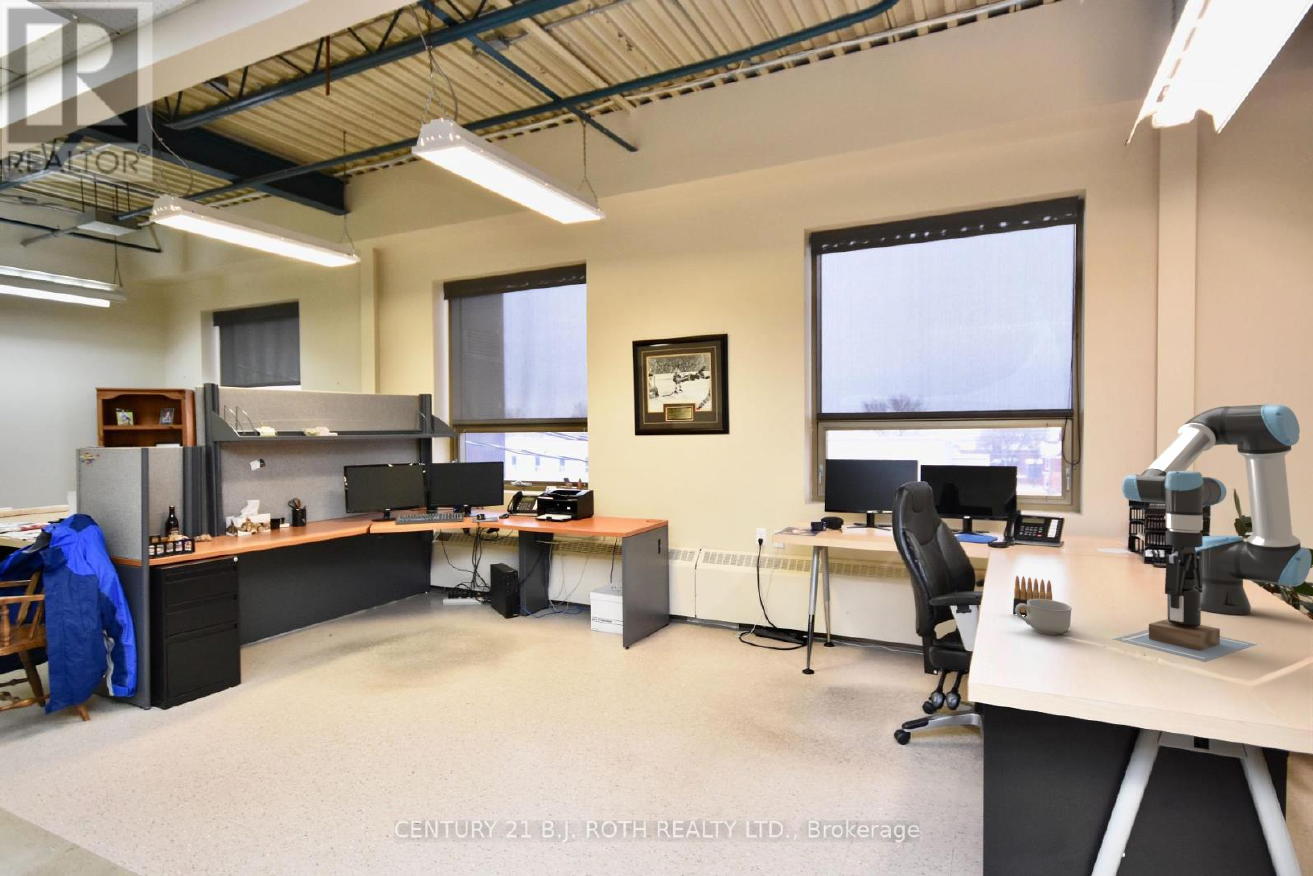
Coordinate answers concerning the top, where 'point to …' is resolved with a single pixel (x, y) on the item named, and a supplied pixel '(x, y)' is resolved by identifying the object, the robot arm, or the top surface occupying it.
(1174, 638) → the walnut plinth
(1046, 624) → the teacup
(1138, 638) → the board
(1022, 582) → the ammunition clip
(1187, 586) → the supplement bottle
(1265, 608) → the top surface
